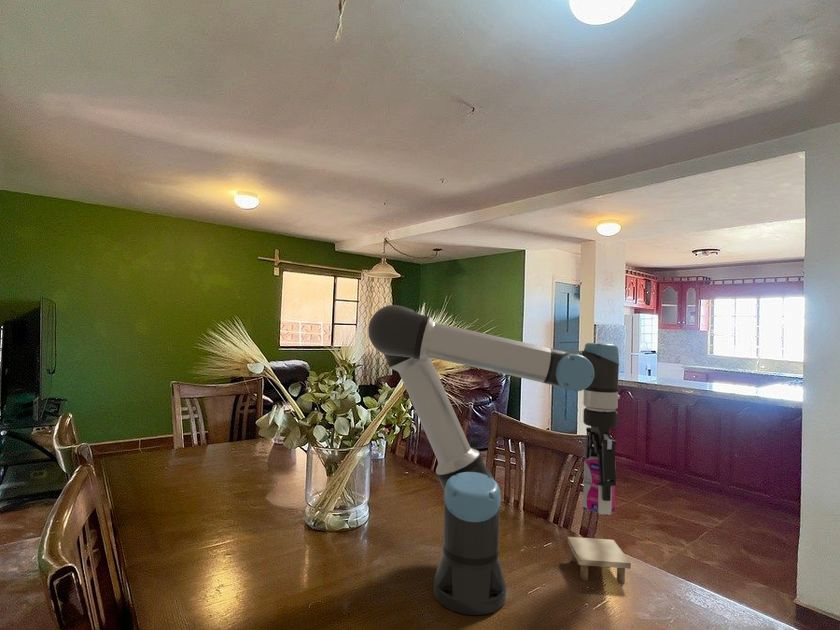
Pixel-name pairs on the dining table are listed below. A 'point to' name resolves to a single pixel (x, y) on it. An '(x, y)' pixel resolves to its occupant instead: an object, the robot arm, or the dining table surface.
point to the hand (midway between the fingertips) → (598, 506)
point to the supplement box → (593, 485)
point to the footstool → (598, 556)
